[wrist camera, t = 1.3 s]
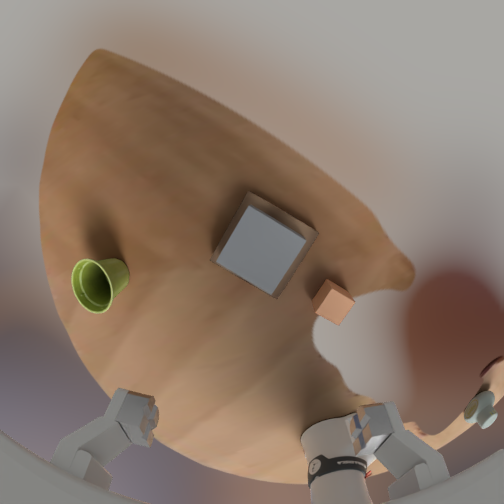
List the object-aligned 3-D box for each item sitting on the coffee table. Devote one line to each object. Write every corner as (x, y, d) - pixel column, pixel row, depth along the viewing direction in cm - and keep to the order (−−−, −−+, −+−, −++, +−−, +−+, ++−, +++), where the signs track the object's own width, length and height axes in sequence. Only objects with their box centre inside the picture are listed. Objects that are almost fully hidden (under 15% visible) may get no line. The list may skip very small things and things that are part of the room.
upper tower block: (304, 237, 39) (306, 240, 36) (271, 286, 41) (271, 294, 38) (251, 204, 39) (248, 205, 36) (221, 256, 41) (215, 261, 38)
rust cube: (347, 291, 43) (355, 302, 39) (332, 312, 44) (338, 325, 40) (326, 278, 43) (332, 288, 38) (311, 300, 44) (315, 312, 39)
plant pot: (91, 263, 47) (63, 275, 39) (120, 239, 45) (92, 248, 37) (114, 303, 48) (90, 321, 40) (146, 283, 47) (122, 300, 38)
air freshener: (473, 413, 47) (487, 433, 37) (457, 416, 47) (470, 438, 38) (492, 385, 45) (508, 403, 35) (476, 387, 45) (493, 408, 35)
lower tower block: (316, 230, 42) (319, 233, 39) (277, 291, 45) (277, 299, 42) (250, 191, 42) (248, 190, 39) (214, 255, 45) (209, 260, 41)
